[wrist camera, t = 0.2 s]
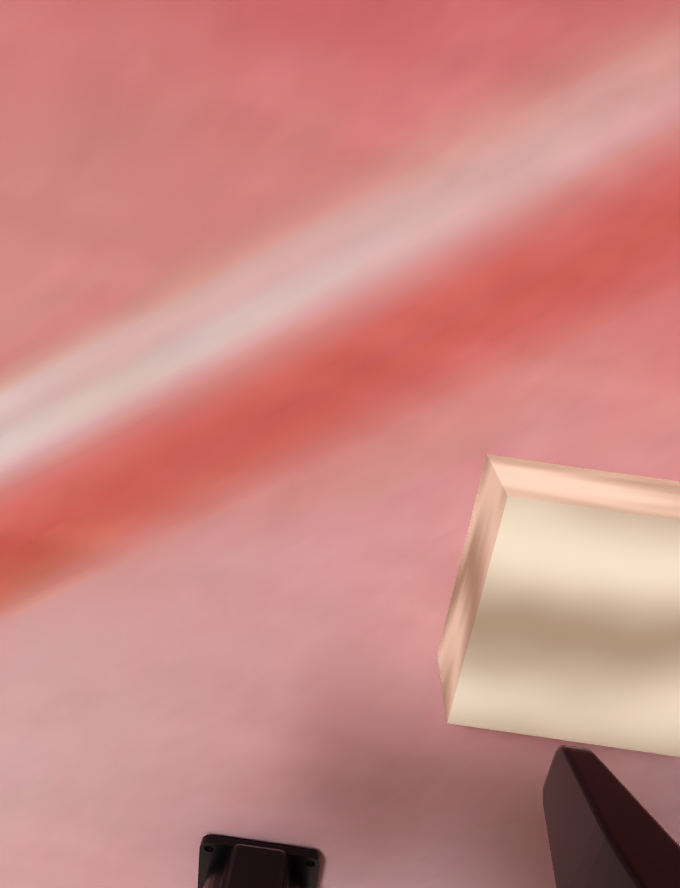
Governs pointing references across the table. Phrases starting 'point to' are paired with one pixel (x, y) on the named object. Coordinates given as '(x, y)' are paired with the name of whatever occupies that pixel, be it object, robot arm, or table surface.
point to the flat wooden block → (568, 608)
